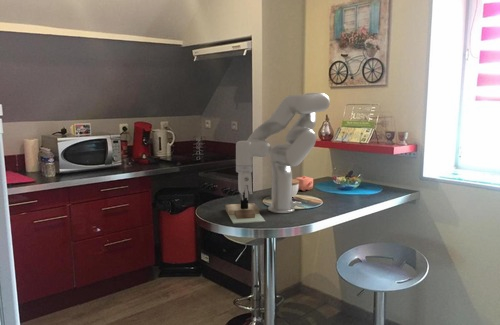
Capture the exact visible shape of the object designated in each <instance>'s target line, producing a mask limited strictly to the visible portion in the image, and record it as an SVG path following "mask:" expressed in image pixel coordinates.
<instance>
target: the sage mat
mask: <svg viewBox="0 0 500 325" xmlns="http://www.w3.org/2000/svg"><path fill="white" fill-rule="evenodd" d="M228 216H229V218H230V220H231V222H232V224H233V225H235V224H248V223H249V224H250V223H262V222H263V223H265V222H266V220H265V218H264V217H263V216H262V215H261V214H260V213H259V214H255V218H244V219H237V218H236V216H235V215H228Z"/></svg>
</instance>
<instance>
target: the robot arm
mask: <svg viewBox="0 0 500 325" xmlns="http://www.w3.org/2000/svg"><path fill="white" fill-rule="evenodd" d="M330 100H331V99H330V97H329V96H328V95H327V94H326V93H324V92H307V93H305V94H296V95H295V94H292V95H287V96H285V97H284V99H283V100H282V101H281V102H280V104H279V105H278V106H277V108H276V109H275V111H274V112H273V113H272V114H271V116H270V117H269V118H268V119H266V120H265V121H264V122H262V124H260V125H259V126H258V127H256V128H255V129H254V130H253V132H252V133H251V134H250V135H249V137H248V138H247V140H239V141H237V142H235V172H236V173H238V174H237V178H238V179H237V183H238V188H237V189H238V192H239V194H240V204H241V209H248V204H249V195H253V180H252V173H253V172H254V171H253V170H254V168H253V167H254V159H253V158H254V157H257V158H258V157H259V158H264V157H267V156H269V160H270V164H271V205H269V206H268V207H267V208H268V211H270V212H271V213H275V214H289V213H293V212H295V211H296V209H295V208H296V207H302V204H303V203H302V201H297V200H296V201H293V198H292V179H293V170H292V168H293V167H297V166H299V165H300V164H301V163H303V160H305V158H306V157H307V156H308V154H309V153H310V152H311V151H312V150H313V148H314V147H315V145H316V142H317V135H316V132H315V131H314V128H315V127H316V124H317V113H321V112H325V111H326V110H327V109H328V108H329V107H330V103H331V101H330ZM296 115H300V116H299V118H298V119H297V120H296V121H295V122H294V124H293V125H292V127H291V128H290V129H289V130H288V131H287V133H286V135H285V142H286V144H285V143H277V144H275V145H273V146H271V144H270V143H269V142H268V141H267V139H268V138H270V137H271V136H273V135H276V134H278V133H280V132H282V131H284V130H285V129H286V128H287V126H289V124H290V122H291V121H292V120H293V118H294V117H295V116H296Z"/></svg>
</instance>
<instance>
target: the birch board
mask: <svg viewBox="0 0 500 325" xmlns="http://www.w3.org/2000/svg"><path fill="white" fill-rule="evenodd" d="M240 210H252V211H253V212H254V213H255V214H260V208H259V207H258V206H257V205H256V204H255V203H254V202H253V203H252V202H251V203H249V202H248V209H241V203H231V204H225V211H226V214H227V215H228V216H229V215H235V211H240Z"/></svg>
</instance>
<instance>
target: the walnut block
mask: <svg viewBox="0 0 500 325" xmlns="http://www.w3.org/2000/svg"><path fill="white" fill-rule="evenodd" d="M235 216H236V218H237V219H244V218H255V213H254V212H253V211H252V210H240V211H235Z"/></svg>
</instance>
